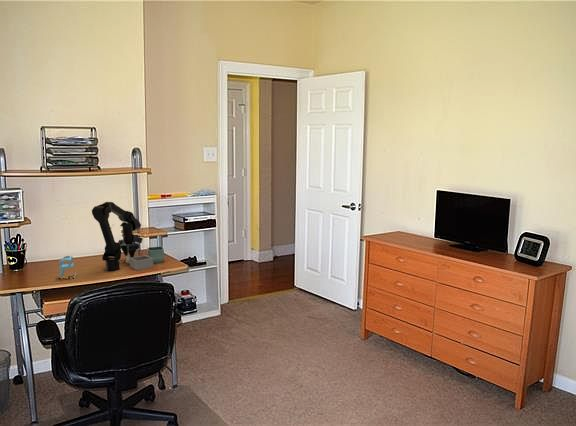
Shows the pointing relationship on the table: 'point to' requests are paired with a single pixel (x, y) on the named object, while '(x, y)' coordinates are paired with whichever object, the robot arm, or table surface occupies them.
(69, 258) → the chair
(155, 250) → the flower pot
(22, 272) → the table surface
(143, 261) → the storage box
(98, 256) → the table surface
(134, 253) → the robot arm
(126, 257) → the lid
